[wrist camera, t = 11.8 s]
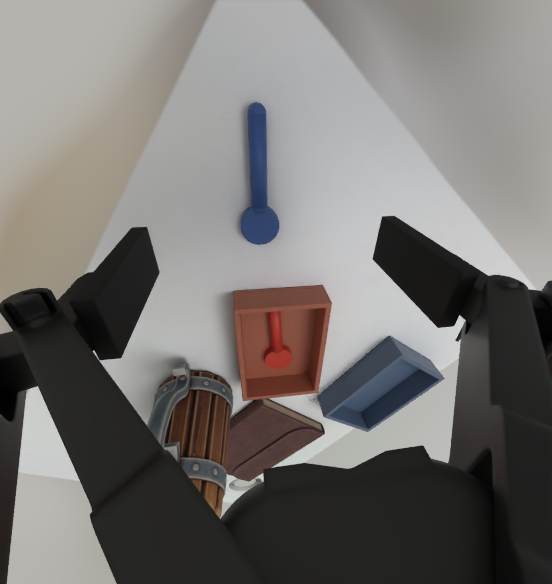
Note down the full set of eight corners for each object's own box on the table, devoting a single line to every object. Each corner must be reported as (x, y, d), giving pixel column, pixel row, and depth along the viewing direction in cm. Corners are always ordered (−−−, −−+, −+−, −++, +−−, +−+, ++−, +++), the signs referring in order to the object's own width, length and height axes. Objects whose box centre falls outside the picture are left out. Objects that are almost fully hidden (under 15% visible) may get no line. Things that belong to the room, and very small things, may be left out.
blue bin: (389, 335, 37) (402, 354, 34) (430, 360, 41) (444, 378, 39) (317, 396, 43) (323, 417, 40) (359, 412, 47) (367, 432, 44)
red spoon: (256, 297, 30) (257, 305, 29) (287, 293, 30) (290, 301, 29) (265, 365, 37) (266, 373, 35) (291, 361, 37) (293, 369, 36)
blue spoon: (232, 102, 20) (232, 101, 19) (279, 102, 21) (281, 102, 20) (241, 241, 27) (242, 247, 26) (277, 239, 27) (279, 245, 26)
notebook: (185, 453, 47) (183, 465, 46) (260, 395, 41) (261, 406, 39) (249, 471, 54) (250, 482, 53) (322, 424, 48) (325, 435, 46)
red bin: (233, 290, 30) (233, 310, 27) (322, 285, 31) (332, 303, 28) (242, 379, 38) (242, 401, 35) (312, 372, 39) (318, 392, 37)
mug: (238, 408, 42) (239, 532, 30) (169, 418, 41) (141, 550, 29) (219, 335, 33) (210, 468, 21) (131, 347, 32) (68, 492, 20)
